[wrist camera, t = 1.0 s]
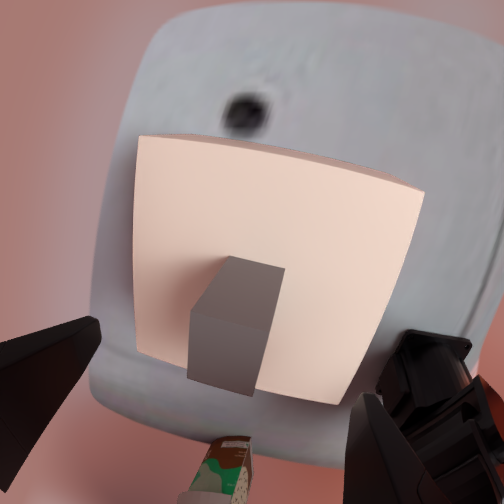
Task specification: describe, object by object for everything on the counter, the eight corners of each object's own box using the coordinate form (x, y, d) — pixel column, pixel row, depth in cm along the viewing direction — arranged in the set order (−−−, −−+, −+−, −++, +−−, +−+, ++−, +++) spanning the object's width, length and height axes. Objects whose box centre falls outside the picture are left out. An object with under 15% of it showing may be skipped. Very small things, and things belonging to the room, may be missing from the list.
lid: (420, 190, 11) (478, 224, 6) (338, 398, 15) (336, 471, 11) (144, 135, 12) (66, 142, 8) (141, 346, 17) (98, 402, 12)
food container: (192, 418, 28) (156, 495, 18) (250, 429, 26) (225, 513, 17) (208, 470, 32) (185, 529, 23) (254, 478, 31) (236, 541, 22)
